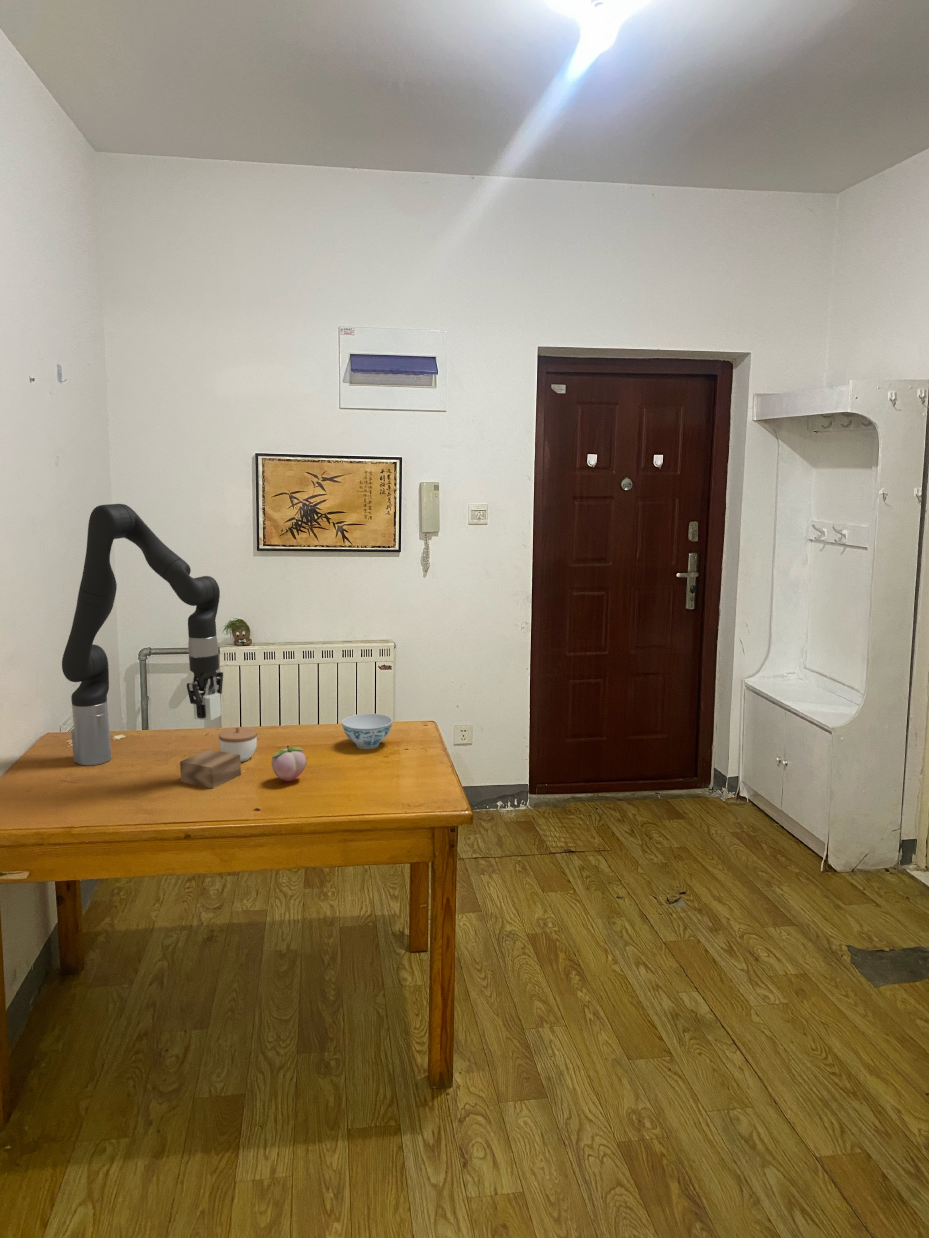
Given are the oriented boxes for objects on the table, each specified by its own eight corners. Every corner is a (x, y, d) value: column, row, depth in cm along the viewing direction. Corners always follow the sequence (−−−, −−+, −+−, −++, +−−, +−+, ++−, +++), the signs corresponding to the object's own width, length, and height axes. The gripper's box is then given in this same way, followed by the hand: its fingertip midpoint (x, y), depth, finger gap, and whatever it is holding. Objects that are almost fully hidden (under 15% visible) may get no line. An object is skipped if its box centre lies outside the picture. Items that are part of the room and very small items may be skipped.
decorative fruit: (294, 772, 245) (293, 737, 243) (312, 780, 239) (310, 744, 237) (265, 781, 238) (263, 745, 236) (282, 789, 232) (280, 753, 231)
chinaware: (390, 754, 260) (389, 728, 258) (338, 753, 260) (338, 728, 258) (395, 737, 274) (394, 713, 273) (346, 737, 275) (345, 713, 273)
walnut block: (181, 782, 238) (179, 761, 237) (209, 769, 248) (208, 749, 247) (213, 789, 234) (212, 767, 232) (241, 775, 243) (239, 754, 242)
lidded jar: (248, 766, 250) (246, 734, 248) (213, 763, 252) (211, 731, 250) (264, 753, 260) (263, 722, 258) (230, 751, 262) (228, 720, 261)
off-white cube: (194, 718, 236) (192, 696, 235) (205, 713, 241) (203, 692, 239) (210, 720, 234) (209, 698, 233) (221, 715, 239) (220, 693, 238)
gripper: (206, 646, 242) (210, 706, 245) (175, 657, 229) (179, 721, 232) (230, 647, 240) (234, 708, 243) (200, 659, 226) (204, 723, 230)
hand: (207, 714), depth 237 cm, fingers closed on off-white cube, 5 cm apart
